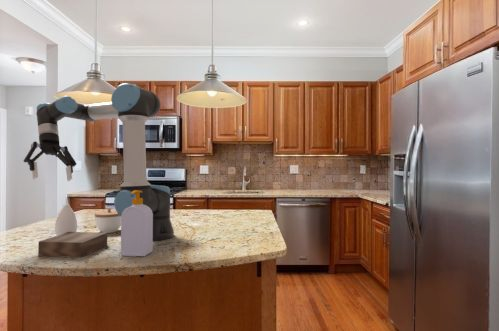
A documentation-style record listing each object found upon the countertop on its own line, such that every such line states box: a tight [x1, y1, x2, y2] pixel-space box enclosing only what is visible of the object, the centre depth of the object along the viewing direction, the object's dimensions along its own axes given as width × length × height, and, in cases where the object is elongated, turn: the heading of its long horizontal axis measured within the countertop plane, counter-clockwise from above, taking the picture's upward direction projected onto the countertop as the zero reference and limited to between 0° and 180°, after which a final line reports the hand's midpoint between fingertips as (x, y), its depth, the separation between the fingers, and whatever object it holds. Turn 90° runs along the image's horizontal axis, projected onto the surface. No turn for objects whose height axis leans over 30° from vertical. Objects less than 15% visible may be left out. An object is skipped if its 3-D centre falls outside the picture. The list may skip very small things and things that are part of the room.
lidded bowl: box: [94, 208, 121, 234], centre depth 145 cm, size 13×13×11 cm
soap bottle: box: [120, 190, 154, 257], centre depth 108 cm, size 9×7×23 cm
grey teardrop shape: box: [54, 198, 78, 236], centre depth 125 cm, size 8×8×18 cm
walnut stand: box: [37, 231, 108, 258], centre depth 112 cm, size 16×16×5 cm
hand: (53, 179), depth 129 cm, fingers open, 13 cm apart
